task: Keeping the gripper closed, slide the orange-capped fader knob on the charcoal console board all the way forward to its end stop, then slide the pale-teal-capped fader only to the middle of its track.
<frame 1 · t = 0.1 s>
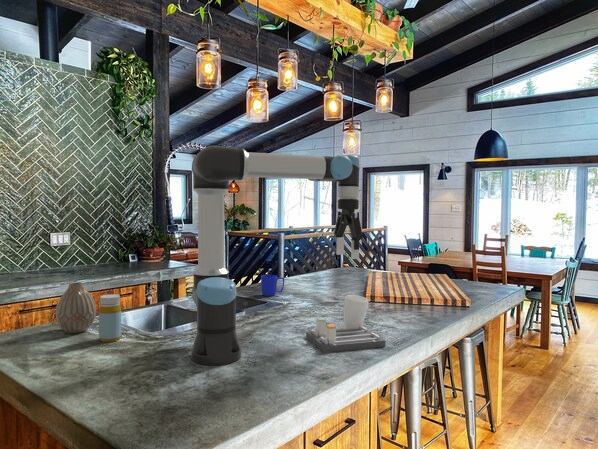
hand: (347, 256, 162), 28 cm above the counter, fingers open, 13 cm apart
fader a: (330, 333, 146), point 5 cm above the counter, slide at 0.0 cm
console: (344, 341, 152), on the counter
vase: (76, 331, 161), on the counter
fader b: (321, 325, 154), point 5 cm above the counter, slide at 0.0 cm
mug: (272, 295, 227), on the counter
bottle: (110, 340, 152), on the counter
cup: (351, 329, 166), on the counter, touching console
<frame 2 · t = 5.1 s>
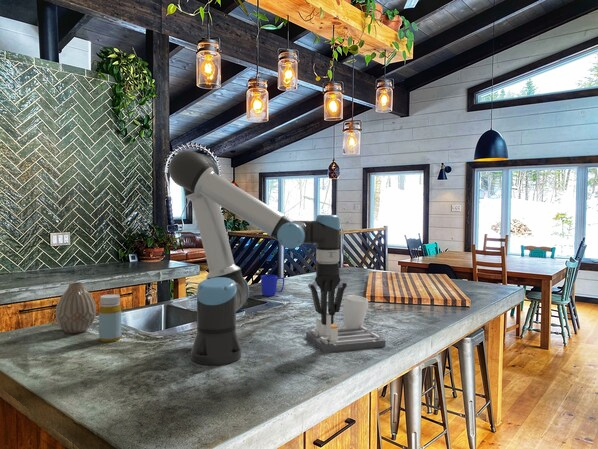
hand: (327, 334, 145), 5 cm above the counter, fingers closed
fader a: (332, 332, 146), point 5 cm above the counter, slide at 0.6 cm, touching gripper
everything else where it was.
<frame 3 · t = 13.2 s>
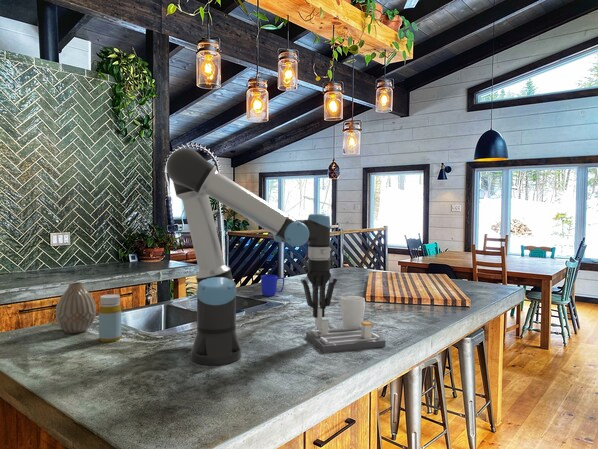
hand: (318, 326, 154), 5 cm above the counter, fingers closed
fader a: (366, 330, 150), point 5 cm above the counter, slide at 12.9 cm
fader b: (323, 325, 155), point 5 cm above the counter, slide at 1.0 cm, touching gripper
cup: (352, 330, 166), on the counter, touching console
everything else where it was.
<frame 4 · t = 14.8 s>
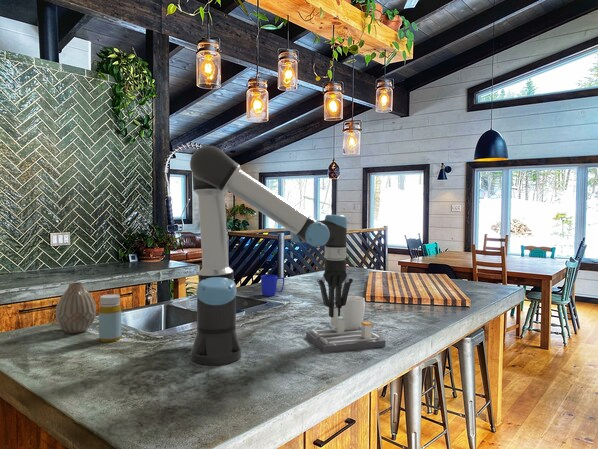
hand: (334, 325, 156), 4 cm above the counter, fingers closed
fader b: (339, 324, 156), point 5 cm above the counter, slide at 6.9 cm, touching gripper
everything else where it was.
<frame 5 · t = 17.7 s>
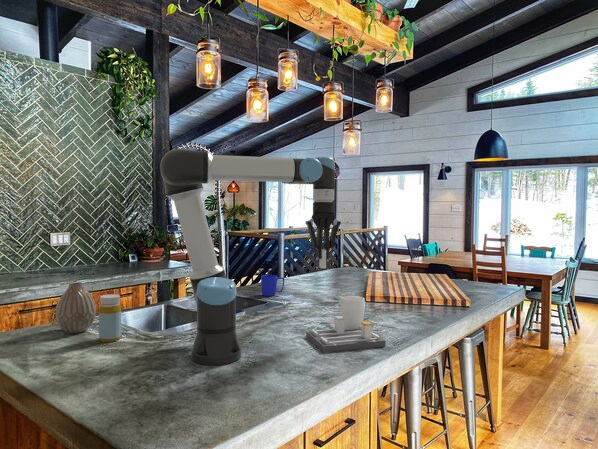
hand: (322, 267, 158), 24 cm above the counter, fingers closed
fader b: (339, 324, 156), point 5 cm above the counter, slide at 6.9 cm
everything else where it was.
at the end: fader a slide at 12.9 cm; fader b slide at 6.9 cm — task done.
